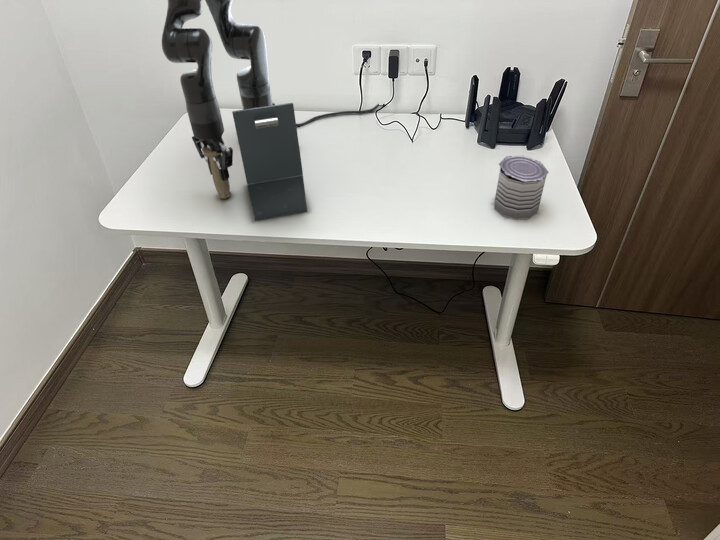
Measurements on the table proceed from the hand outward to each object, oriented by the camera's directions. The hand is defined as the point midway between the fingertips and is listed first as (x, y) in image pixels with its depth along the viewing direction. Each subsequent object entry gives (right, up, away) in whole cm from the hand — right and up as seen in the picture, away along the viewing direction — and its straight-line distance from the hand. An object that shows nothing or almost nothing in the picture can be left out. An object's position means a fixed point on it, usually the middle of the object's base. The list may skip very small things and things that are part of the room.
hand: (220, 176), depth 138 cm
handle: (0, -5, +4) cm, 6 cm away
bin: (+15, -6, +3) cm, 16 cm away
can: (+77, -9, -3) cm, 77 cm away
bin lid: (+16, +5, -16) cm, 23 cm away
